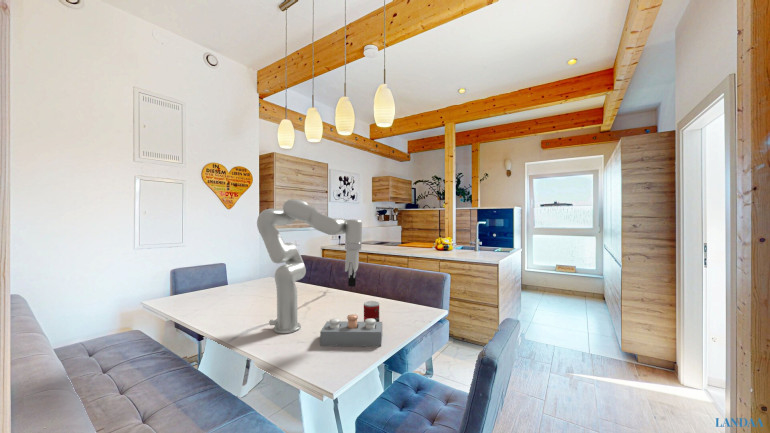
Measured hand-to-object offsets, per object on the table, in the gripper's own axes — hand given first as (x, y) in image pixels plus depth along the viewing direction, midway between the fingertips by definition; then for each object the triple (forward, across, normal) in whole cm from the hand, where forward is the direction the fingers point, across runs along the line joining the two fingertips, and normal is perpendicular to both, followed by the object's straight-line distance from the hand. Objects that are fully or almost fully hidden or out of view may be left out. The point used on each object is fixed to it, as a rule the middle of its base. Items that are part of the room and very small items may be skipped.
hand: (352, 285), depth 134 cm
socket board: (+23, +4, +2) cm, 23 cm away
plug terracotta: (+20, +4, +2) cm, 21 cm away
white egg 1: (+23, +5, -6) cm, 24 cm away
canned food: (+23, -14, +8) cm, 28 cm away
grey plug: (+22, +4, +10) cm, 24 cm away
